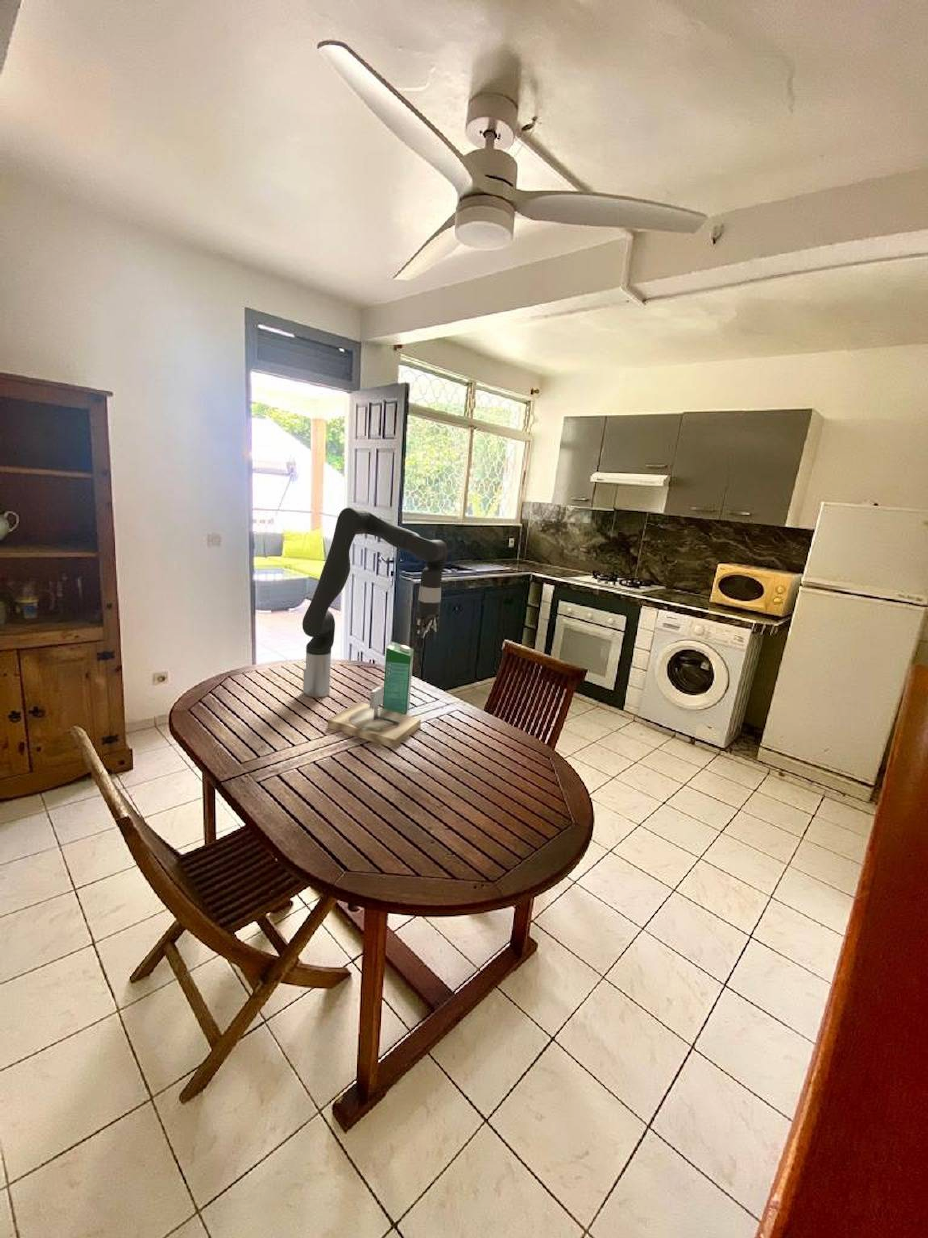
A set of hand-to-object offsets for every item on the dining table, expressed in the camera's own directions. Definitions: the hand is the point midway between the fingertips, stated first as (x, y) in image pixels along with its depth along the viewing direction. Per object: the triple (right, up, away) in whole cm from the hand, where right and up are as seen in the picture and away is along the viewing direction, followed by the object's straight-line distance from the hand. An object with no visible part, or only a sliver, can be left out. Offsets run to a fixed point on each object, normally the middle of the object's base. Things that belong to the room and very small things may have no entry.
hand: (425, 644), depth 172 cm
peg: (-13, -26, -2) cm, 29 cm away
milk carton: (-13, -25, +17) cm, 33 cm away
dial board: (-18, -29, 0) cm, 34 cm away
